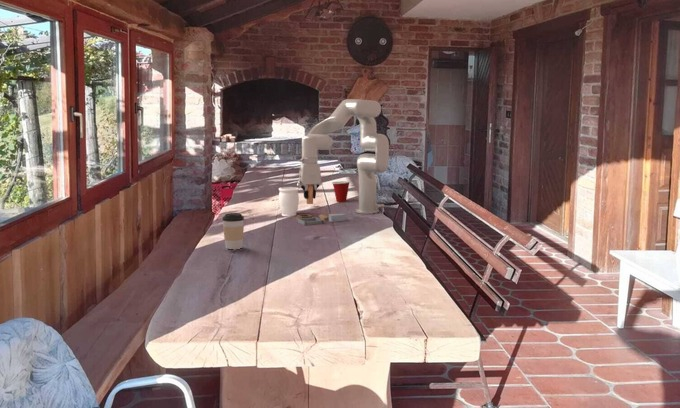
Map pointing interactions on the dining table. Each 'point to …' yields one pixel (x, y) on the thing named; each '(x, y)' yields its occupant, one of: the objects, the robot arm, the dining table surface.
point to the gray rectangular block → (337, 217)
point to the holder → (304, 216)
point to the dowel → (310, 194)
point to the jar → (288, 200)
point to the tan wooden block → (324, 217)
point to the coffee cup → (233, 230)
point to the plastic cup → (341, 190)
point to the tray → (310, 221)
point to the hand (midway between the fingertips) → (309, 198)
